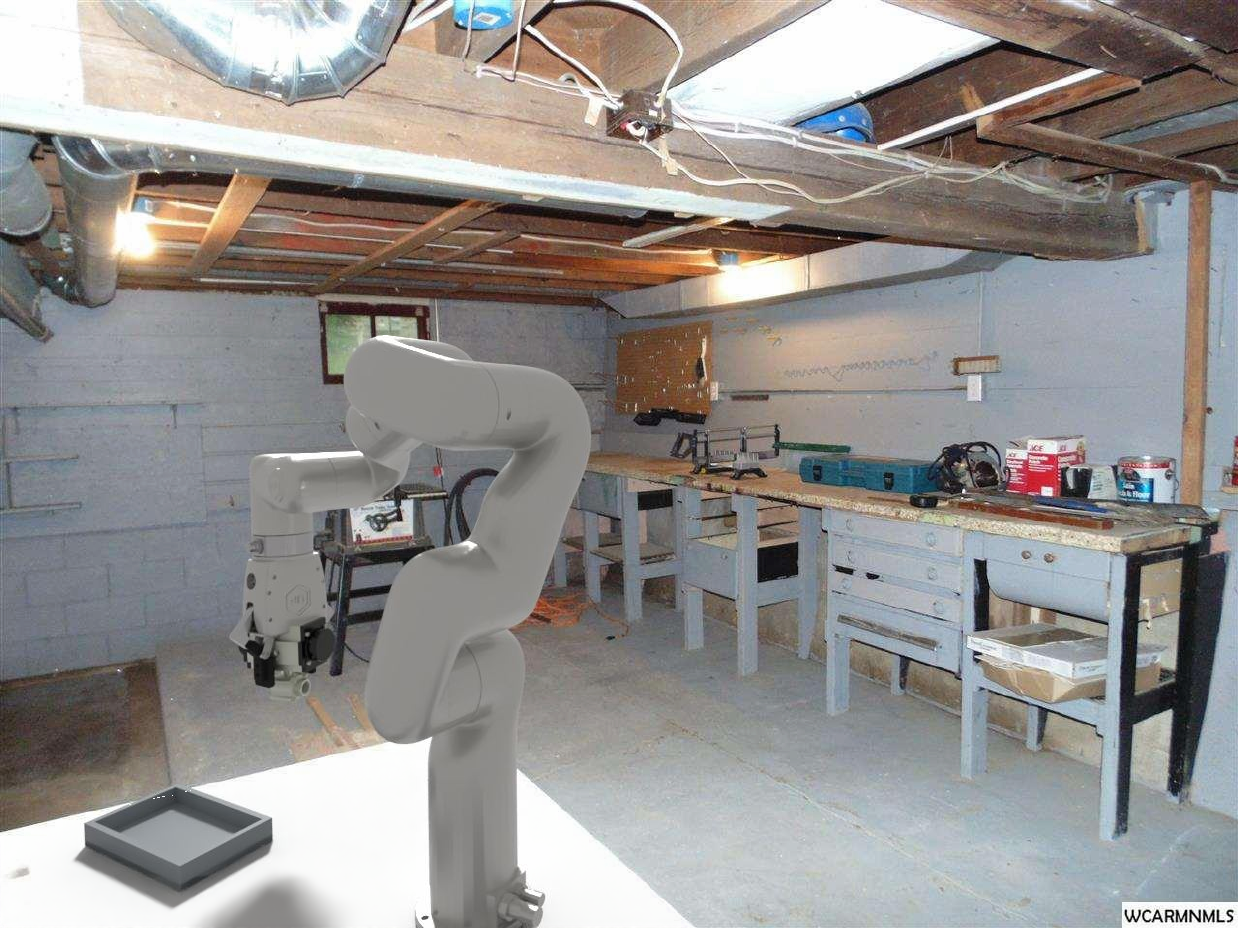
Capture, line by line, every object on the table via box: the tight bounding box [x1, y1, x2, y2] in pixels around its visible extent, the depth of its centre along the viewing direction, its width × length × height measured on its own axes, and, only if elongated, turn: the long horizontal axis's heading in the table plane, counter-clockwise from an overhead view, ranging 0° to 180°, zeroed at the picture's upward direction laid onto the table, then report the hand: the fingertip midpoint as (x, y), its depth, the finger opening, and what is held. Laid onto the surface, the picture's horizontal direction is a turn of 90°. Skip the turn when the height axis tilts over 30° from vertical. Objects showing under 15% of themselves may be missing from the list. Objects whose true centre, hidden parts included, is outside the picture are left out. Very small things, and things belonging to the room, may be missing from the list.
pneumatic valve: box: [237, 617, 336, 704], centre depth 100 cm, size 6×12×12 cm, turn 78°
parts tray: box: [83, 783, 274, 893], centre depth 95 cm, size 20×12×3 cm, turn 62°
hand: (286, 677), depth 100 cm, fingers closed on pneumatic valve, 5 cm apart
